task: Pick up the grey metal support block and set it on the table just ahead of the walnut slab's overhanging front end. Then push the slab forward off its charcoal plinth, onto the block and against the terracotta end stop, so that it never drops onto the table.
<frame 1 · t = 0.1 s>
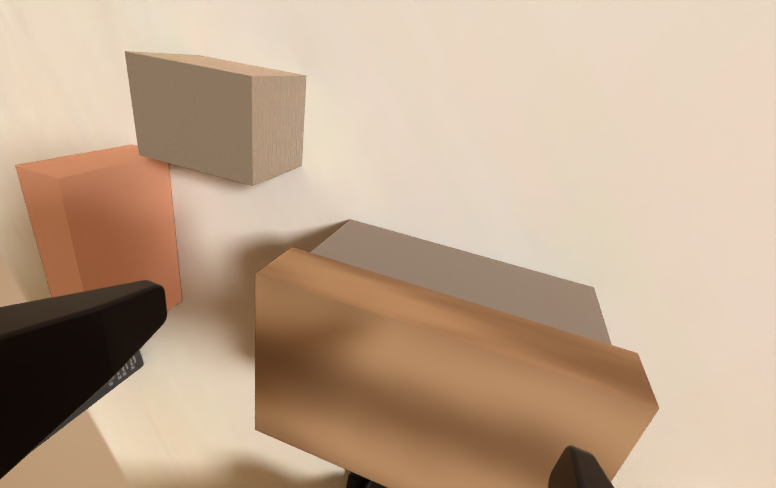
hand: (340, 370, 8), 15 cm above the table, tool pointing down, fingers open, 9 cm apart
support block: (252, 111, 23), on the table
plinth: (444, 321, 24), on the table
box: (114, 324, 36), on the table
end stop: (159, 229, 29), on the table
slab: (426, 375, 20), point 5 cm above the table, touching plinth
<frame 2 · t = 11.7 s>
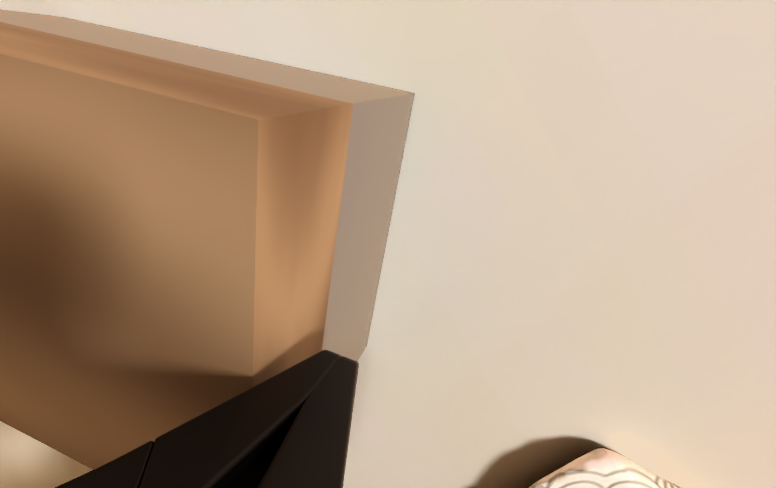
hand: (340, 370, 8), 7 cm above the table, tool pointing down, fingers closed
plinth: (222, 189, 15), on the table
slab: (77, 224, 11), point 5 cm above the table, touching gripper, plinth
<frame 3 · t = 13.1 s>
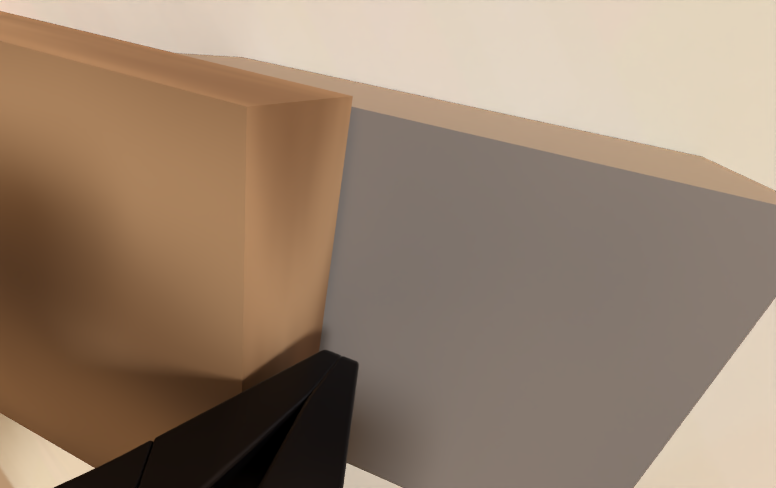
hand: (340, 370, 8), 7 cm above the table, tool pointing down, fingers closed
plinth: (410, 247, 14), on the table
slab: (78, 216, 11), point 5 cm above the table, touching plinth, support block
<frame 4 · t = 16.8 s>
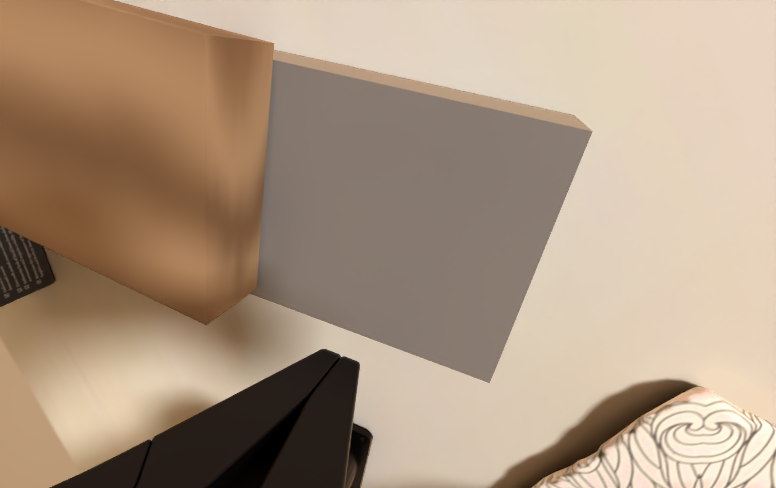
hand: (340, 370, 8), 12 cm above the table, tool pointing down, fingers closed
plinth: (387, 187, 19), on the table
box: (20, 232, 31), on the table
slab: (110, 127, 17), point 5 cm above the table, touching plinth, support block
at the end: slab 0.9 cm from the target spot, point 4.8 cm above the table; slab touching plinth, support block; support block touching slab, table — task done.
